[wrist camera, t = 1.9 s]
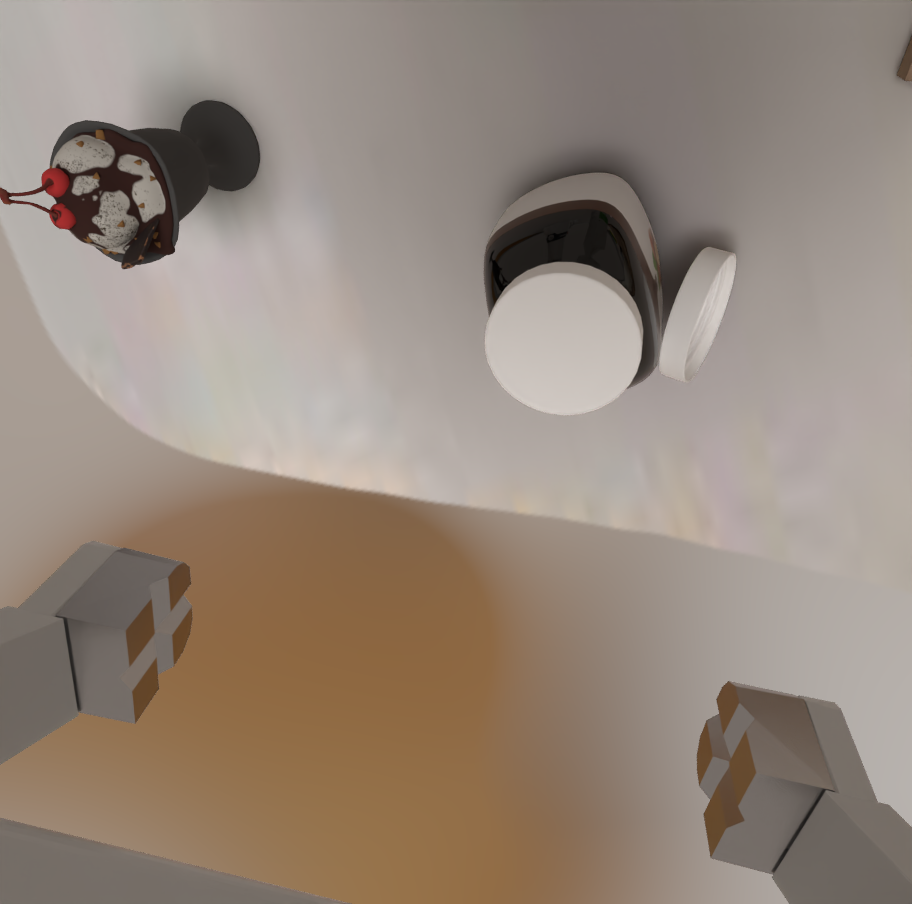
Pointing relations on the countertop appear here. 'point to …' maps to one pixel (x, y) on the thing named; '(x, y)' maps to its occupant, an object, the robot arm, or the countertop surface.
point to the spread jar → (591, 298)
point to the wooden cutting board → (906, 64)
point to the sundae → (143, 179)
